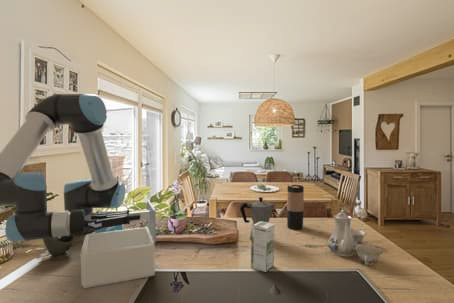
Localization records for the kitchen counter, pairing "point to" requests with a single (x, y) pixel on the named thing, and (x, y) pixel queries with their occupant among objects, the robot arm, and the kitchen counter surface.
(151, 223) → the carton flap
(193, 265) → the kitchen counter surface
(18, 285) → the kitchen counter surface
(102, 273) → the carton
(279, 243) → the kitchen counter surface
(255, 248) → the syrup box
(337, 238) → the chinaware
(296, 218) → the travel mug
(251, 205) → the coffeepot
